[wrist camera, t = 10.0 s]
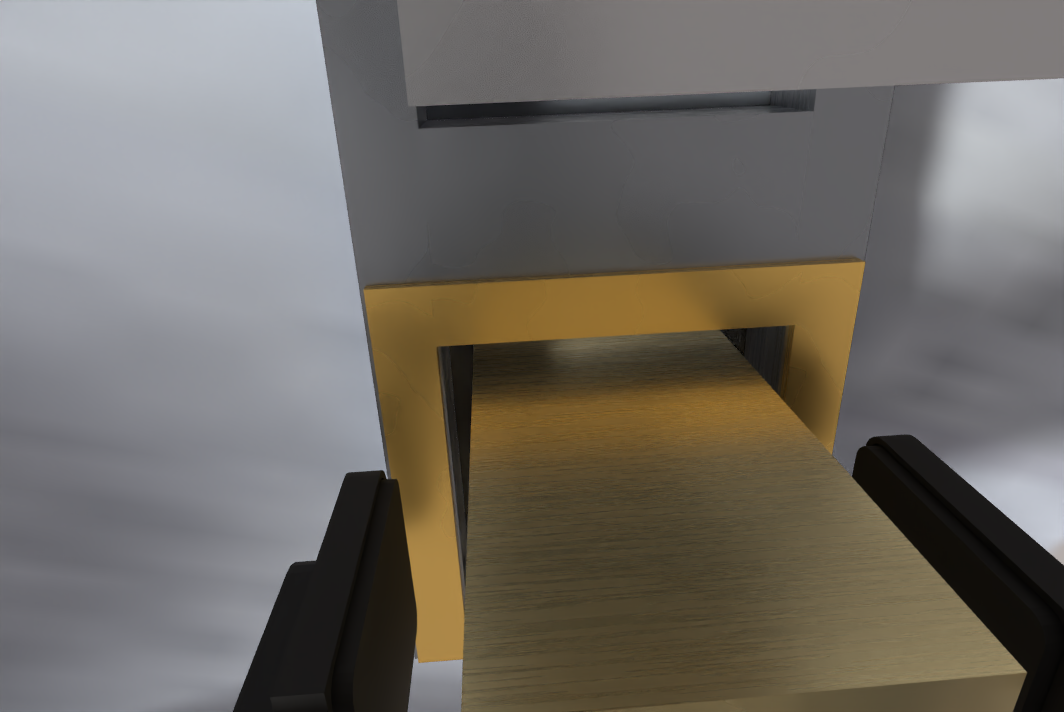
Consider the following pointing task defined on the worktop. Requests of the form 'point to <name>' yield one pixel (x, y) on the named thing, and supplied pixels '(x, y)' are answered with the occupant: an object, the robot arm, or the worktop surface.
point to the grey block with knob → (716, 46)
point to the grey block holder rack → (585, 252)
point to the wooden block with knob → (690, 549)
